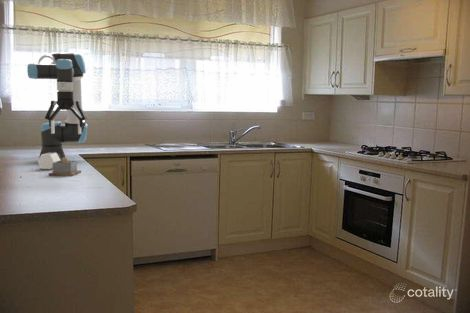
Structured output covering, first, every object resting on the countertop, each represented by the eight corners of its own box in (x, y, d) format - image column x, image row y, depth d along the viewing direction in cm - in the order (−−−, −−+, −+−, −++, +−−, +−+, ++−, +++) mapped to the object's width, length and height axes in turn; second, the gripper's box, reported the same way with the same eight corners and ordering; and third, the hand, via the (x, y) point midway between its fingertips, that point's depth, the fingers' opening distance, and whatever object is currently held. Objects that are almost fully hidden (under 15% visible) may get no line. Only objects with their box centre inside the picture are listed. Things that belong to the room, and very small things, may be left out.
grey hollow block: (59, 170, 254) (59, 160, 254) (77, 170, 254) (76, 161, 254) (52, 173, 245) (52, 163, 245) (71, 173, 245) (70, 163, 245)
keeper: (57, 172, 256) (57, 156, 255) (80, 172, 256) (80, 156, 255) (48, 175, 244) (47, 159, 243) (72, 175, 244) (72, 159, 243)
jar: (54, 169, 264) (62, 166, 276) (53, 154, 263) (62, 152, 275) (37, 169, 264) (46, 166, 276) (36, 154, 263) (46, 151, 275)
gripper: (37, 90, 244) (38, 133, 247) (87, 91, 243) (88, 134, 246) (43, 90, 251) (44, 132, 254) (92, 91, 251) (93, 133, 253)
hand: (66, 133), depth 250 cm, fingers open, 13 cm apart
